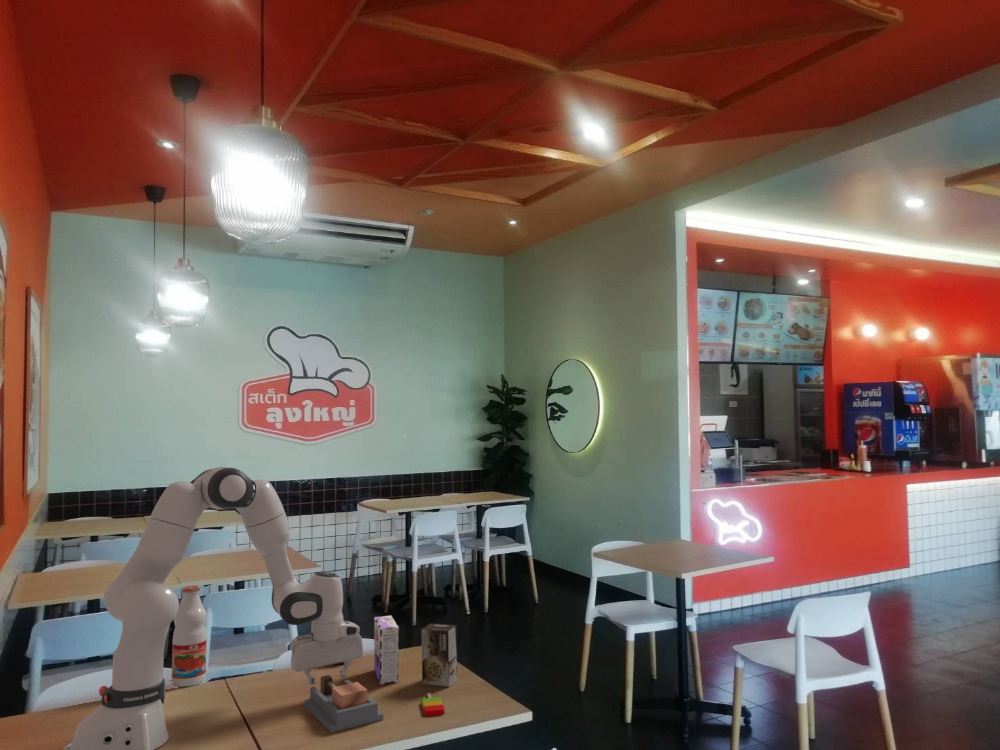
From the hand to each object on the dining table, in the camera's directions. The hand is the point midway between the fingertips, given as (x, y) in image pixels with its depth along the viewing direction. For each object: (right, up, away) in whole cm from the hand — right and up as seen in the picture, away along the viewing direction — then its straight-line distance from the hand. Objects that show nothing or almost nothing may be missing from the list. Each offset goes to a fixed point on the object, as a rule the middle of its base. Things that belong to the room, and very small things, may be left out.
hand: (327, 680), depth 196 cm
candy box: (+14, -6, +16) cm, 22 cm away
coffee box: (+31, -5, +10) cm, 33 cm away
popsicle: (+30, -4, -7) cm, 31 cm away
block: (+5, -3, -9) cm, 11 cm away
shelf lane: (+7, -4, -11) cm, 14 cm away
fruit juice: (-45, -6, +13) cm, 47 cm away
